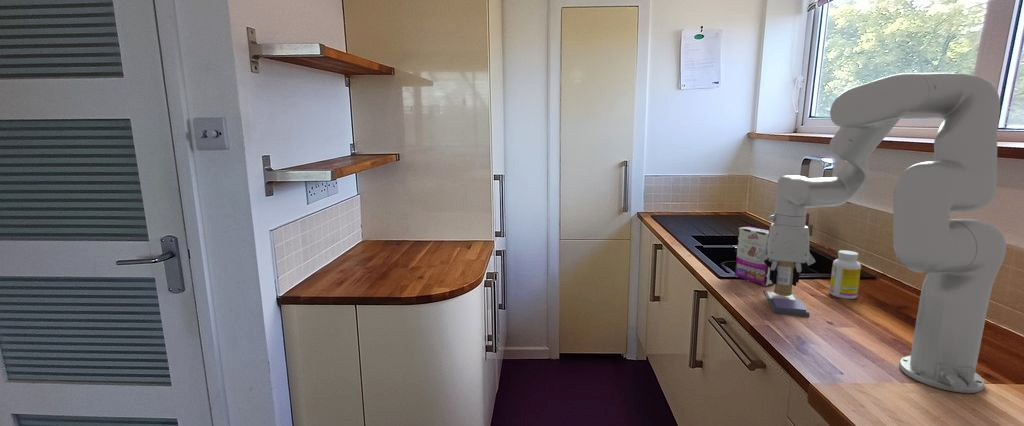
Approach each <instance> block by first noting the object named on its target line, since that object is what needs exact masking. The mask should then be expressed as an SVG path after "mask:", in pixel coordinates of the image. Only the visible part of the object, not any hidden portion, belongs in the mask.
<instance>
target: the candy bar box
mask: <svg viewBox="0 0 1024 426" xmlns="http://www.w3.org/2000/svg"><path fill="white" fill-rule="evenodd" d="M768 233H769V230H768V229H762V228H757V227H753V226H743V227H738V233H737V234H738V235H737V246H736V248H737V249H736V259H735V260H736V261H735V271H734V277H735V276H738V277H739V278H738V277H737V278H738V279H742V280H744V281H747V280H748V282H750V281H751V282H750V283H754V284H757V285H760V286H763V287H769V286H772V285H774V286H775V284H773V283H772V282H771V280H769V275H770V268H769V267H768V266H767V265H766V264H765V263H764V262H763V261H761V260H760V259H759V258H758V257H757V256H758V255H759V254H760V253H761V251H762V250H763V249H764V248H765V247H766V243H767V238H768ZM765 258H766V259H768V260H769V261H771V260H770V259H769V258H768V257H767V255H766V256H765Z"/></svg>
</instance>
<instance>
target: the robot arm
mask: <svg viewBox="0 0 1024 426" xmlns="http://www.w3.org/2000/svg"><path fill="white" fill-rule="evenodd" d="M829 110H830V111H829V116H830V120H831V122H832V123H833V124H834V125H835V126H837V127H839V129H838V130H837V131H836V133H835V134H834V136H832V138H831V139H830V142H829V148H830V151H831V152H832V153H833V154H834V155H835V156H836V157H837V158H839V159H841V160H842V161H844V163H843V165H842V166H841V167H840V169H839V170H838V171H837V173H835V175H834V176H833V177H832V176H830V177H811V178H808V177H807V176H804V175H798V174H797V175H796V174H795V175H794V174H792V175H791V174H789V175H787V174H786V175H782V176H780V177H779V178H778V180H777V186H776V196H775V208H774V212H773V214H772V215H768V218H767V219H768V221H771V222H773V223H771V224H770V226H769V233H768V238H767V243H766V247H765V248H764V249H763V250H762V251H761V253H760V254H759V255H758V256H757V257H758V258H759V259H760V260H761V261H763V262H764V263H765V264H766V265H767V266H768V267H769V268H770V275H769V280H771V282H772V283H773V284H774V285H775V284H776V278H777V270H776V266H777V263H778V261H781V262H794V270H793V283H792V286H794V287H797V283H799V282H800V274H801V272H802V271H804V269H806V268H807V267H808V266H811V265H813V264H814V263H815V264H816V260H815V258H814V255H812V254H811V253H810V229H809V226H807V225H806V221H807V211H808V210H807V209H811V208H822V207H823V208H824V207H827V208H828V207H839V206H841V205H844V204H846V203H847V202H849V201H850V200H851V199H852V198H853V197H854V196H855V195H856V194H857V192H859V190H860V189H861V188H862V187H863V186H864V184H865V183H866V180H867V177H868V173H869V162H868V161H869V160H868V159H869V157H870V156H871V154H872V153H873V152H874V151H875V150H876V149H877V147H878V146H879V145H880V144H881V142H882V141H883V140H884V139H886V137H887V135H888V134H889V133H890V132H891V130H892V129H893V128H894V127H895V126H896V124H898V122H899V121H900V120H901V119H928V118H929V119H930V118H931V119H933V118H935V119H943V121H942V122H941V124H940V126H939V128H938V129H937V132H936V134H935V137H934V142H933V149H934V150H933V151H934V152H933V160H932V161H923V162H919V163H915V164H913V165H911V166H909V167H907V168H905V170H903V171H902V172H901V173H900V175H899V177H897V180H896V182H895V186H894V189H893V201H892V204H893V205H892V206H893V209H892V210H893V211H892V214H893V215H892V222H893V223H892V233H893V234H892V237H893V238H892V241H893V242H892V243H893V250H894V253H895V255H896V257H897V259H898V262H900V263H901V264H902V266H904V267H905V268H906V269H908V270H910V271H912V272H915V273H923V274H926V276H925V277H924V280H923V283H922V286H921V292H920V296H919V302H918V307H917V308H918V310H917V315H916V320H915V327H914V332H913V333H914V334H913V338H912V346H911V351H910V355H906V356H903V357H901V358H900V360H899V364H898V367H899V369H900V370H901V371H902V373H904V374H905V375H906V376H908V377H910V378H912V379H914V380H915V381H918V382H919V383H922V384H923V385H924V384H925V385H927V386H929V387H933V388H937V389H940V390H945V391H948V392H953V393H954V392H955V393H963V394H972V393H979V392H981V391H983V390H984V388H985V384H986V383H985V379H984V378H983V377H982V376H981V375H980V374H978V373H977V372H976V370H977V365H978V359H979V355H980V350H981V345H982V338H983V333H984V328H985V322H986V318H987V312H988V308H989V304H990V303H989V302H990V299H991V294H992V290H993V285H994V283H995V280H996V277H997V275H998V273H999V270H1000V268H1001V266H1002V265H1003V262H1004V260H1005V256H1006V254H1007V242H1006V238H1005V237H1004V234H1003V233H1002V232H1001V230H1000V229H998V227H996V226H995V225H994V224H991V223H990V222H987V221H984V220H980V219H976V218H975V219H973V218H954V219H951V218H950V217H951V213H963V212H972V211H973V212H974V211H978V210H981V209H983V208H986V207H988V206H989V205H990V204H991V203H992V202H993V201H994V200H995V197H996V195H997V186H998V184H997V183H998V180H997V179H998V131H999V130H998V129H999V122H1000V113H1001V99H1000V96H999V93H998V91H997V89H996V88H995V86H994V85H993V84H992V83H990V81H988V80H986V79H984V78H983V77H979V76H976V75H972V74H966V73H956V72H907V73H905V72H903V73H897V74H891V75H889V76H888V75H887V76H885V77H881V78H878V79H876V80H872V81H869V82H867V83H863V84H860V85H859V84H858V85H855V86H853V87H851V88H848V89H846V90H844V91H843V92H841V93H840V94H839V95H837V97H835V99H834V100H833V102H832V103H831V106H830V109H829ZM766 255H767V257H768V258H769V259H770V260H771V261H769V260H768V259H766V258H765V256H766Z"/></svg>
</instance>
